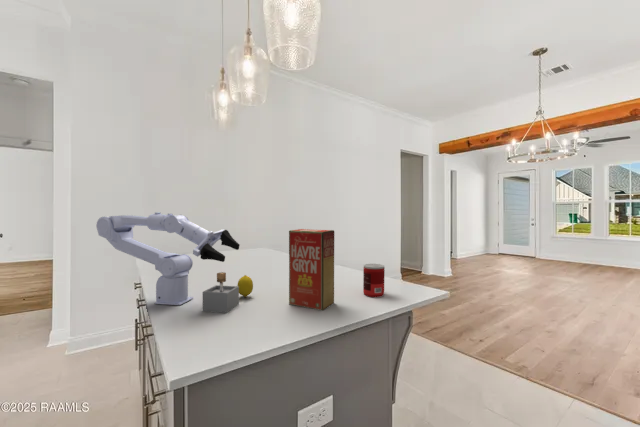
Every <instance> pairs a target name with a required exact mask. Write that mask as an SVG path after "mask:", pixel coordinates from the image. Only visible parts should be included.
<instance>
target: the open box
mask: <svg viewBox="0 0 640 427" xmlns="http://www.w3.org/2000/svg"><path fill="white" fill-rule="evenodd" d="M216 289H220V284H219V285H218V284H215V285H214V286H212V287H209V288H207V289H206V290H203V291H202V312H209V311H212V312H213V313H224V314H225V313H226V314H227V313H229V312H230V311H232V310H233V309H234V308H236V307H237V306H238V305H240V303H239V302H240V300H239V298H240V296H239V295H240V294H239V286H237V285H223V289H232V290H230V291H228V292H226V293H225V292H212V291H214V290H216Z"/></svg>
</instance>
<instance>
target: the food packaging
mask: <svg viewBox="0 0 640 427" xmlns="http://www.w3.org/2000/svg"><path fill="white" fill-rule="evenodd" d="M288 260H289V261H288V263H289V264H288V276H289V278H288V305H291V306H297V307H301V308H306V309H310V310H311V309H312V310H317V311H325V310H326V309H328V308H330V307H331V306H333V305H334V304H335V230H334V229H311V228H310V229H309V228H307V229H306V228H305V229H304V228H298V229H291V230H289V231H288Z"/></svg>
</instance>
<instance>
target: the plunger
mask: <svg viewBox="0 0 640 427" xmlns="http://www.w3.org/2000/svg"><path fill="white" fill-rule="evenodd" d="M216 282H217V283H219V285H220V289H216V290H214V291H212V292H225V293H226V292H228V291H230V290H232V289H223V286H224V283H225V282H227V273H226V272H225V271H223V272H222V271H221V272H217V273H216Z"/></svg>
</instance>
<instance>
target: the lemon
mask: <svg viewBox="0 0 640 427" xmlns="http://www.w3.org/2000/svg"><path fill="white" fill-rule="evenodd" d="M253 282H254V281H253V279H252V278H251V277H250V276H248V275H247V274H244V275H243V276H241V277H240V278H239V279H238V281H237V284H236V286H239V295H241V296H242V297H244V298H247V297H248V296H249V295H251V293H252V292H253V289H254V283H253Z"/></svg>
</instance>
